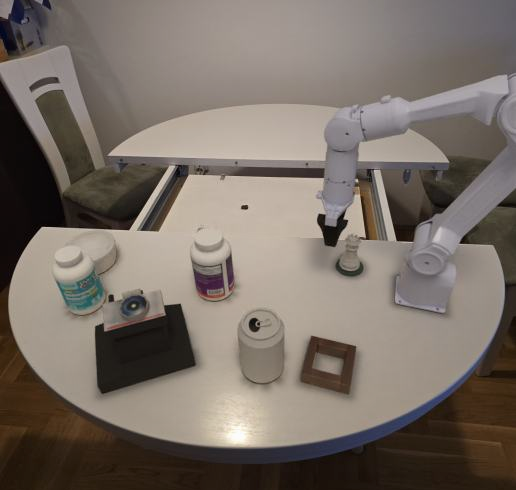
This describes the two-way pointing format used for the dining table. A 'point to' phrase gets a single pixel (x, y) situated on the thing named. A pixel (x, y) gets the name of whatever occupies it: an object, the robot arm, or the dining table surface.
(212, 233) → the pill bottle
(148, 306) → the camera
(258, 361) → the can
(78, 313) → the pill bottle
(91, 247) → the ramekin
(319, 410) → the dining table surface
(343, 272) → the coaster
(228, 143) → the dining table surface
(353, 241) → the rook chess piece
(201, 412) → the dining table surface
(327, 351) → the holder
